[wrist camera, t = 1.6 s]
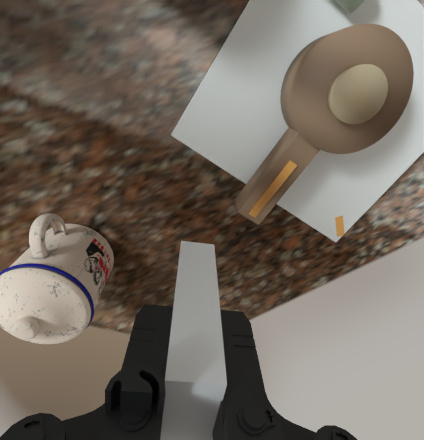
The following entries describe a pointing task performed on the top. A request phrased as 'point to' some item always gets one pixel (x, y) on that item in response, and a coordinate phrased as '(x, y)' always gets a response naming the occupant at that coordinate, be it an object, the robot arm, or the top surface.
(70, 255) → the teacup with lid
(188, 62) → the top surface
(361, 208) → the white flat board
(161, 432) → the robot arm
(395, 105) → the brown lidded pan
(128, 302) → the top surface
